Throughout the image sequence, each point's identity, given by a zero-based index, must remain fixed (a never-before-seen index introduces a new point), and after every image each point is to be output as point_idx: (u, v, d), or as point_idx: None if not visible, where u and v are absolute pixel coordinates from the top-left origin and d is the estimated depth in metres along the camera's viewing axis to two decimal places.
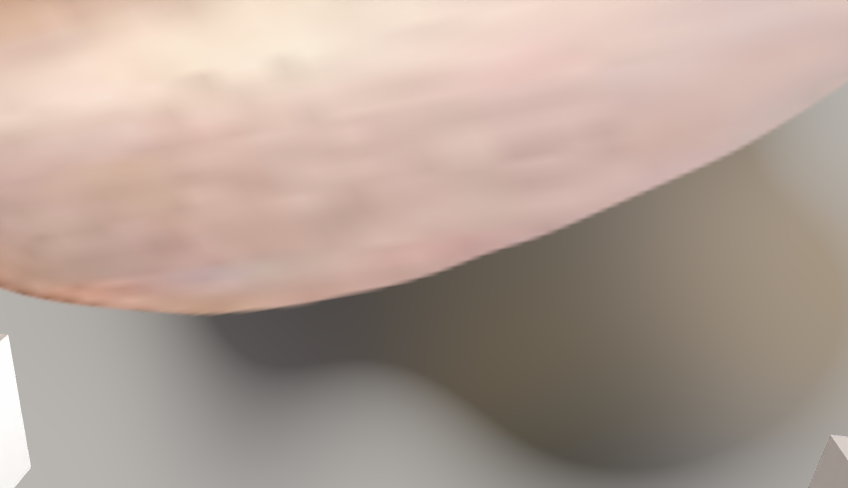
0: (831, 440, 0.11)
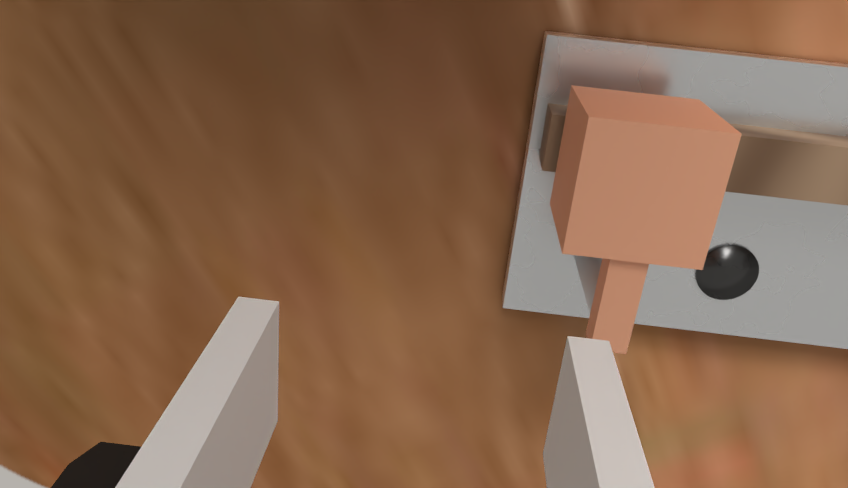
0: (567, 340, 0.13)
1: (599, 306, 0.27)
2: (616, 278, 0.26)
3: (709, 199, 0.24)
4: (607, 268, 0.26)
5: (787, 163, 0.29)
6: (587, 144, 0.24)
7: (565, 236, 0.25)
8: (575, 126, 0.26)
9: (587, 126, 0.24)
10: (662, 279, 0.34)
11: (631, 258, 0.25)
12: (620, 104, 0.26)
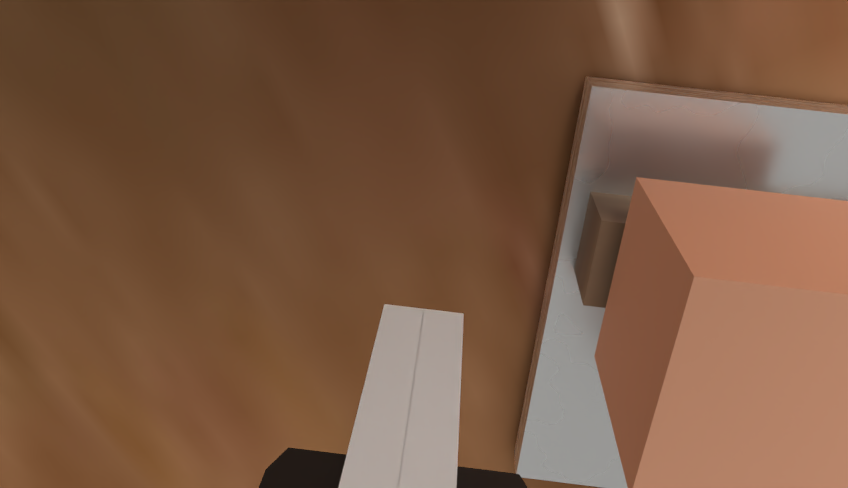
0: (422, 313, 0.13)
1: None
2: None
3: None
4: None
5: None
6: (687, 323, 0.12)
7: (637, 469, 0.14)
8: (652, 265, 0.15)
9: (690, 292, 0.12)
10: None
11: None
12: (734, 228, 0.14)
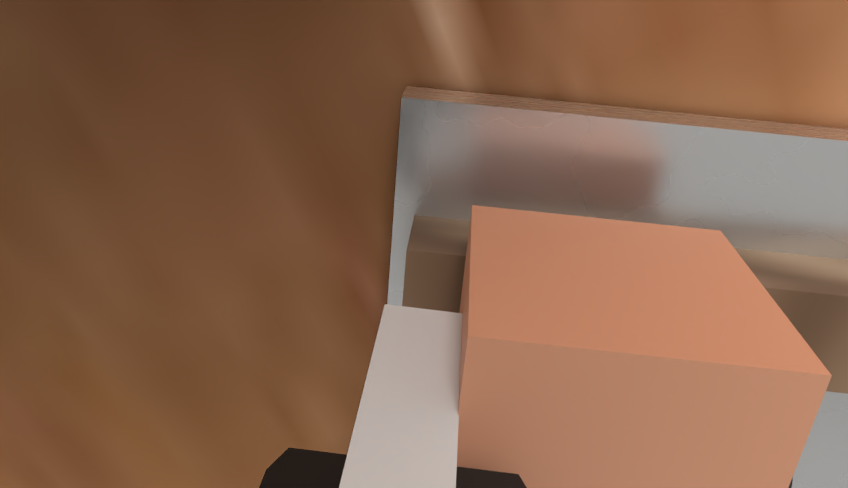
0: (422, 312, 0.13)
1: None
2: None
3: None
4: None
5: None
6: (468, 390, 0.10)
7: None
8: (464, 312, 0.12)
9: (466, 355, 0.10)
10: None
11: None
12: (557, 268, 0.12)
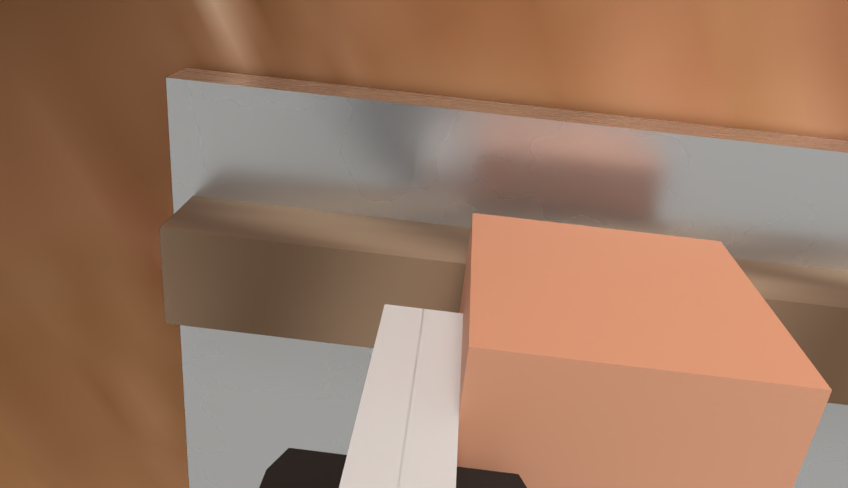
0: (422, 313, 0.13)
1: None
2: None
3: None
4: None
5: None
6: (468, 401, 0.10)
7: None
8: (464, 321, 0.12)
9: (467, 365, 0.10)
10: None
11: None
12: (557, 278, 0.12)
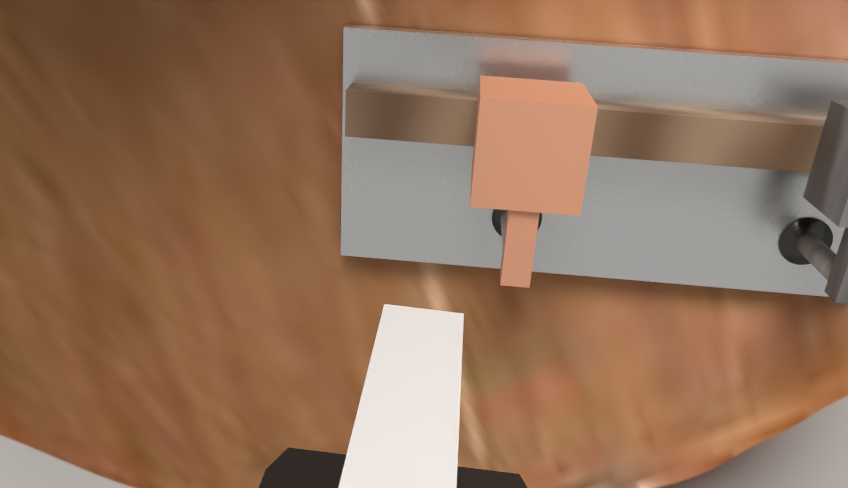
0: (422, 313, 0.13)
1: (504, 249, 0.34)
2: (515, 225, 0.33)
3: (579, 159, 0.31)
4: (508, 218, 0.33)
5: None
6: (480, 119, 0.31)
7: (471, 193, 0.32)
8: None
9: (479, 105, 0.31)
10: (466, 225, 0.41)
11: (524, 208, 0.32)
12: (512, 88, 0.33)
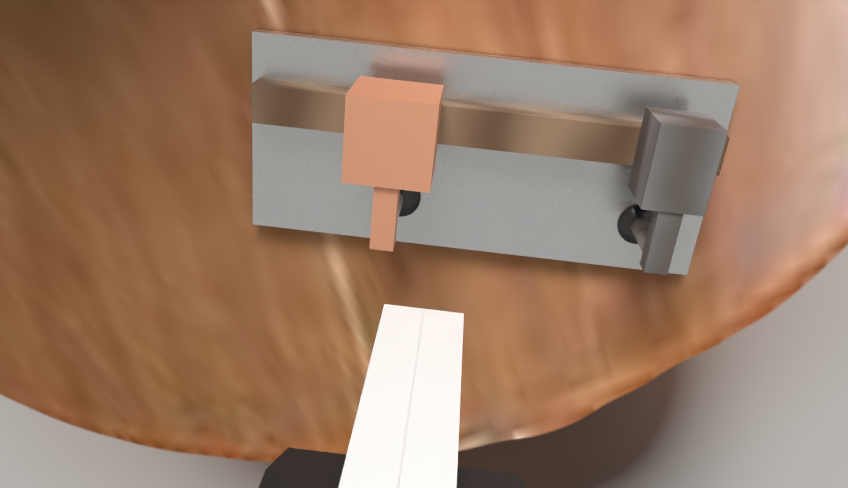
0: (422, 313, 0.13)
1: (371, 219, 0.41)
2: (379, 199, 0.41)
3: (426, 146, 0.39)
4: None
5: None
6: (346, 111, 0.38)
7: (342, 171, 0.40)
8: None
9: (345, 100, 0.38)
10: (358, 202, 0.48)
11: (384, 185, 0.40)
12: (379, 87, 0.40)
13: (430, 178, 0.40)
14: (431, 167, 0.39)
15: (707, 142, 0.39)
